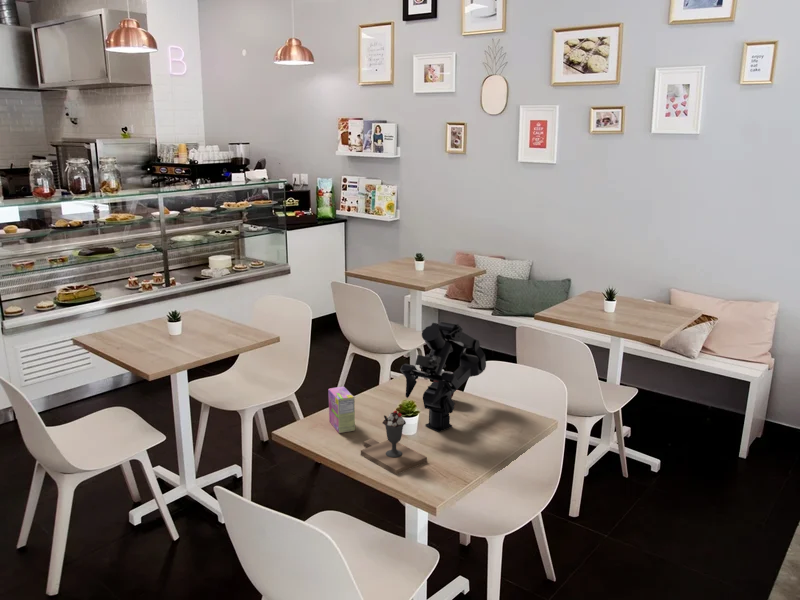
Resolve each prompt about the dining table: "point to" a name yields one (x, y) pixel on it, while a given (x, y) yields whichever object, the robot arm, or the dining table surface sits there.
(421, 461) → the board
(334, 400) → the box
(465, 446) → the dining table surface
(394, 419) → the sundae
